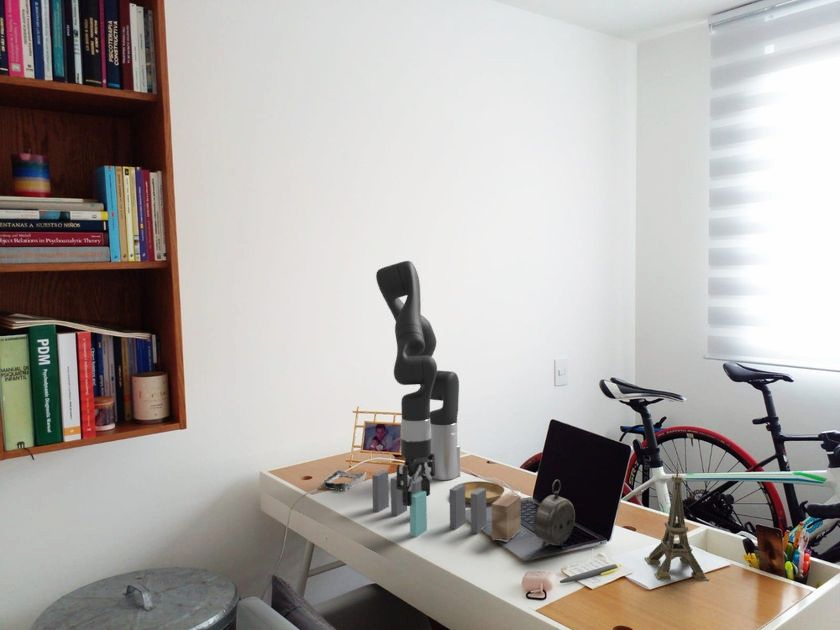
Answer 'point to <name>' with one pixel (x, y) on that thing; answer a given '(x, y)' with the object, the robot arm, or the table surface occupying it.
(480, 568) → the table surface
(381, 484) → the domino
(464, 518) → the domino
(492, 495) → the plant saucer
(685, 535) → the eiffel tower
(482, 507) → the domino
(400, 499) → the domino
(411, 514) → the domino
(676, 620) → the table surface
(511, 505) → the end block
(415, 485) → the domino
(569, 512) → the alarm clock
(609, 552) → the table surface
